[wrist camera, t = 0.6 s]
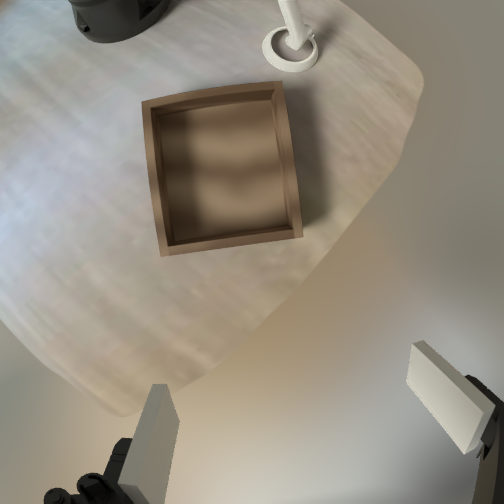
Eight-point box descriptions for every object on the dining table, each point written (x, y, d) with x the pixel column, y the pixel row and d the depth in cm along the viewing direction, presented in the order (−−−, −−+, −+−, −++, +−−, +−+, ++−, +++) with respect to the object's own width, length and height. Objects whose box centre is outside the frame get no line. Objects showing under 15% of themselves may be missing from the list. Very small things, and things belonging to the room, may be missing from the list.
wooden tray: (152, 112, 34) (141, 101, 29) (276, 94, 35) (282, 80, 30) (170, 248, 38) (160, 256, 33) (294, 231, 38) (303, 237, 33)
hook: (260, -17, 27) (308, -19, 23) (287, 45, 37) (329, 50, 34) (229, 8, 26) (280, 5, 23) (263, 74, 37) (308, 81, 33)
